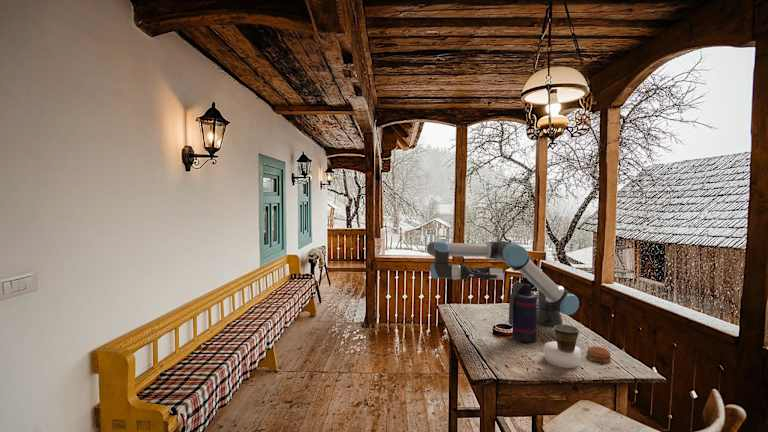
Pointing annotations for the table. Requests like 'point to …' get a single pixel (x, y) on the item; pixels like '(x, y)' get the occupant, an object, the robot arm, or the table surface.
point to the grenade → (523, 312)
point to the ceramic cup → (565, 337)
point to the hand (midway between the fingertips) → (503, 273)
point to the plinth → (562, 356)
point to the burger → (598, 354)
